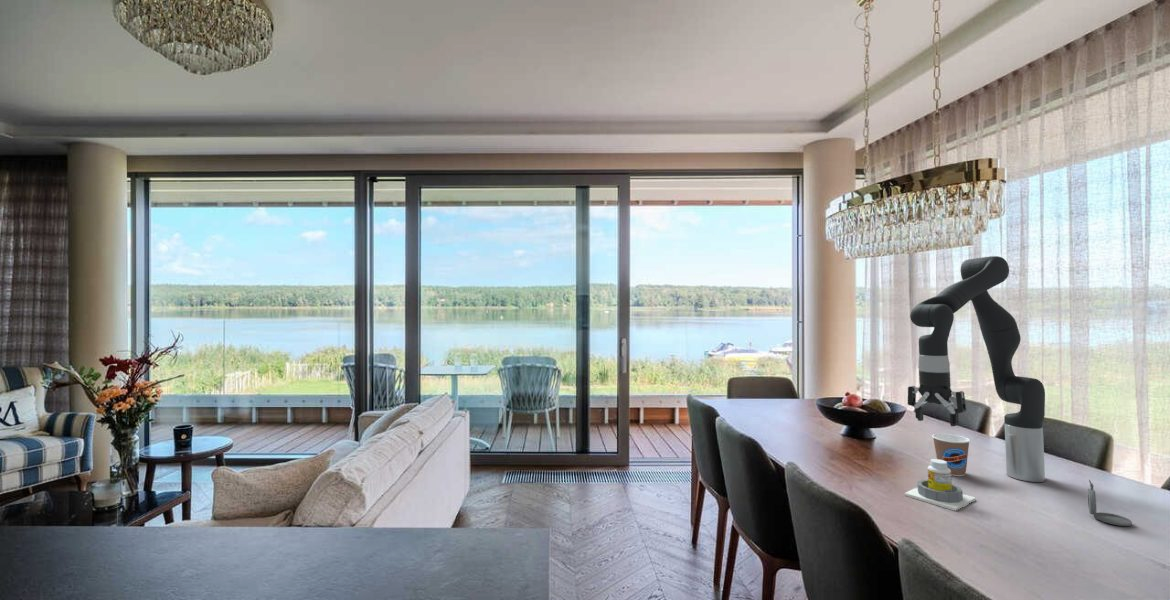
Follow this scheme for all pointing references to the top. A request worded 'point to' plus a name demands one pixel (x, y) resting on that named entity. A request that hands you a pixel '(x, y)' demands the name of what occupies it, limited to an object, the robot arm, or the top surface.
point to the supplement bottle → (939, 476)
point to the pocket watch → (1105, 516)
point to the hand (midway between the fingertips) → (936, 423)
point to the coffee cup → (952, 452)
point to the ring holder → (940, 496)
